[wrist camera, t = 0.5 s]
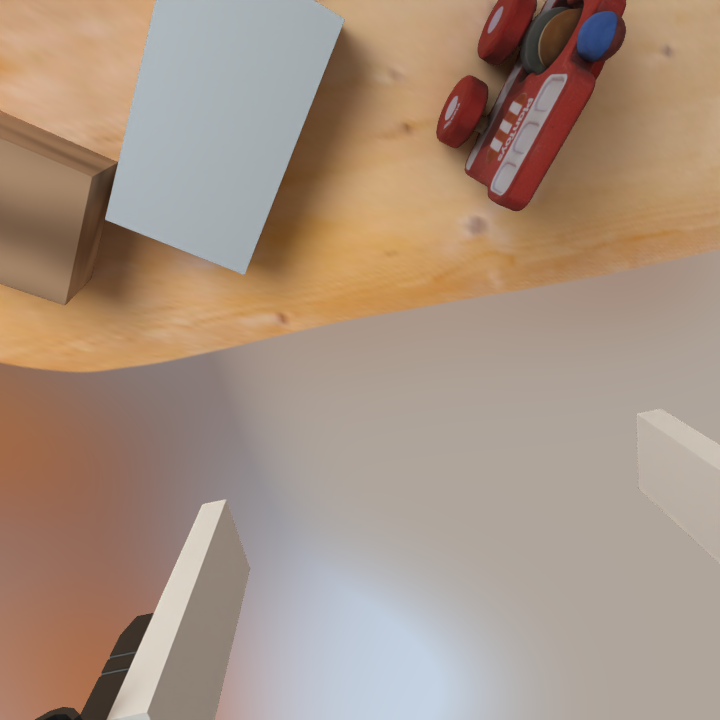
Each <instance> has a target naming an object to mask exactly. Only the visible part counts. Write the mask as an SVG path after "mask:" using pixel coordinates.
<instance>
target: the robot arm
mask: <svg viewBox="0 0 720 720" xmlns="http://www.w3.org/2000/svg"><path fill="white" fill-rule="evenodd" d="M637 452H638V488H639V490H641V491H642V492H643V493H644V494H645V495H646V496H647V497H648V498H649V499H650V500H651V501H652V502H653V503H655V504H656V505H657V506H658V507H659V508H660V509H661V510H662V511H663V512H664V513H666V515H668V516H669V517H670V518H671V519H672V520H673V521H674V522H675V523H676V524H677V525H678V526H680V527H681V528H682V529H683V530H684V531H685V532H686V533H687V534H688V535H689V536H690V537H691V538H693V540H695V541H696V542H697V543H698V544H699V545H700V546H701V547H702V548H703V549H704V550H705V551H706V552H708V553H709V554H710V555H711V556H712V557H713V558H714V559H715V560H716V561H717V562H719V564H720V445H719V444H717V443H716V442H714V441H713V440H711V439H709V438H708V437H706V436H704V435H703V434H701V433H700V432H698V431H696V430H695V429H693V428H691V427H690V426H688V425H687V424H685V423H683V422H682V421H680V420H678V419H677V418H675V417H674V416H672V415H670V414H669V413H667V412H665V411H664V410H662V409H657V410H652V411H647V412H643V413H638V414H637ZM249 571H250V567H249V564H248V561H247V558H246V555H245V552H244V550H243V547H242V544H241V541H240V538H239V535H238V532H237V529H236V527H235V523H234V521H233V518H232V515H231V512H230V509H229V506H228V504H227V500H220V501H216V502H212V503H206V504H202V507H201V509H200V511H199V513H198V516H197V518H196V520H195V522H194V525H193V527H192V529H191V532H190V534H189V536H188V538H187V540H186V543H185V545H184V547H183V549H182V552H181V554H180V556H179V558H178V561H177V563H176V565H175V568H174V570H173V572H172V574H171V576H170V579H169V581H168V583H167V585H166V588H165V590H164V592H163V594H162V597H161V599H160V601H159V603H158V605H157V608H156V610H155V612H154V613H151V614H146V615H141V616H137V617H136V618H135V619H134V620H133V621H132V622H131V624H130V625H129V626H128V627H127V628H126V629H125V631H124V632H123V633H122V634H121V635H120V637H119V639H118V641H117V643H116V645H115V647H114V649H113V651H112V653H111V655H110V659H109V660H108V661H107V663H106V665H105V667H104V669H103V671H102V676H101V677H99V679H98V681H97V682H96V684H95V687H94V689H93V690H92V693H91V695H90V697H89V699H88V700H87V702H86V705H85V707H84V708H83V710H82V712H81V714H79V713H78V712H77V711H76V710H75V709H74V708H67V707H62V708H59V709H55V710H52V711H49V712H47V713H46V714H44V715H43V716H40V717H39V718H37V719H35V720H215V716H216V712H217V708H218V703H219V699H220V695H221V691H222V686H223V682H224V678H225V673H226V669H227V665H228V660H229V656H230V652H231V648H232V644H233V639H234V635H235V631H236V626H237V622H238V618H239V614H240V610H241V605H242V601H243V596H244V592H245V588H246V583H247V580H248V575H249Z"/></svg>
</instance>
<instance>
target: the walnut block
mask: <svg viewBox="0 0 720 720" xmlns="http://www.w3.org/2000/svg"><path fill="white" fill-rule="evenodd" d="M117 165H118V162H116V161H114V160H111V159H109V158H107V157H105V156H102V155H100V154H98V153H95V152H93V151H91V150H89V149H86V148H84V147H82V146H79V145H77V144H75V143H73V142H70V141H68V140H66V139H63V138H61V137H59V136H57V135H54V134H52V133H50V132H47V131H45V130H43V129H41V128H38V127H36V126H34V125H32V124H29V123H27V122H25V121H22V120H20V119H18V118H16V117H13V116H11V115H9V114H6V113H4V112H2V111H0V284H2V285H5V286H8V287H11V288H14V289H17V290H20V291H23V292H26V293H29V294H32V295H35V296H38V297H41V298H44V299H47V300H50V301H53V302H56V303H59V304H62V305H66V304H67V303H68V302H69V301H70V300H71V299H72V298H73V297H74V296H75V295H76V294H77V292H78V291H79V290H80V289H81V288H82V287H83V286H84V285H85V284H86V283H87V282H88V281H89V280H90V279H91V277H92V273H93V268H94V264H95V260H96V255H97V251H98V247H99V242H100V238H101V234H102V229H103V225H104V221H105V216H106V212H107V208H108V204H109V199H110V195H111V191H112V186H113V182H114V178H115V173H116V169H117Z"/></svg>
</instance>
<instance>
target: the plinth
mask: <svg viewBox="0 0 720 720" xmlns="http://www.w3.org/2000/svg"><path fill="white" fill-rule="evenodd" d="M344 20H345V19H344V18H342V17H340V16H339V15H337V14H336V13H334V12H332V11H331V10H329V9H328V8H326V7H324V6H323V5H321V4H319V3H318V2H316V1H315V0H156V1H155V5H154V10H153V14H152V18H151V23H150V27H149V31H148V36H147V40H146V44H145V49H144V53H143V57H142V62H141V66H140V70H139V75H138V79H137V83H136V88H135V92H134V96H133V101H132V105H131V109H130V114H129V118H128V122H127V127H126V131H125V135H124V140H123V144H122V148H121V153H120V157H119V161H118V166H117V170H116V174H115V179H114V183H113V187H112V192H111V196H110V200H109V205H108V209H107V213H106V218H105V220H107V221H109V222H112V223H115V224H117V225H120V226H122V227H125V228H127V229H130V230H132V231H135V232H137V233H140V234H142V235H145V236H147V237H150V238H152V239H155V240H157V241H160V242H162V243H165V244H167V245H170V246H172V247H175V248H177V249H180V250H183V251H185V252H188V253H190V254H193V255H195V256H198V257H200V258H203V259H205V260H208V261H210V262H213V263H215V264H218V265H220V266H223V267H225V268H228V269H230V270H233V271H235V272H238V273H240V274H243V275H245V272H246V270H247V267H248V265H249V262H250V260H251V257H252V254H253V252H254V249H255V247H256V244H257V242H258V239H259V237H260V234H261V232H262V229H263V226H264V224H265V221H266V219H267V216H268V214H269V211H270V209H271V206H272V204H273V201H274V198H275V196H276V193H277V191H278V188H279V186H280V183H281V181H282V178H283V176H284V173H285V170H286V168H287V165H288V163H289V160H290V158H291V155H292V153H293V150H294V147H295V145H296V142H297V140H298V137H299V135H300V132H301V130H302V127H303V125H304V122H305V119H306V117H307V114H308V112H309V109H310V107H311V104H312V102H313V99H314V97H315V94H316V91H317V89H318V86H319V84H320V81H321V79H322V76H323V74H324V71H325V68H326V66H327V63H328V61H329V58H330V56H331V53H332V51H333V48H334V46H335V43H336V40H337V38H338V35H339V33H340V30H341V28H342V25H343V23H344Z"/></svg>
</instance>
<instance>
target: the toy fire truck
mask: <svg viewBox="0 0 720 720" xmlns="http://www.w3.org/2000/svg"><path fill="white" fill-rule="evenodd" d="M536 6H537V0H498V2H497V4H496V5H495V7H494V9H493V10H492V12H491V14H490V16H489V18H488V20H487V22H486V24H485V26H484V29H483V31H482V34H481V37H480V40H479V44H478V55H479V57H480V58H481V59H483V60H485V61H487V62H488V63H490V64H492V65H496V66H497V65H500V64H502V63H503V62H504V61H506V60H507V59H508V58H509V57H510V56H511V55H512V54H513V52H514V51H515V50H516V48H517V47H518V46H520V50H519V53H518V56H517V59H516V62H515V64H514V66H513V68H512V70H511V72H510V74H509V76H508V78H507V80H506V82H505V84H504V86H503V88H502V90H501V92H500V94H499V96H498V98H497V100H496V103H495V105H494V107H493V108H492V110H491V112H490V113H489V115H488V116H487V117H486V116H484V115H482V113H483V110H484V108H485V106H486V103H487V99H488V86H487V85H486V84H485V83H484V82H483V81H480V80H479V79H477V78H475V77H473V76H470V75H469V76H466V77H464V78H463V79H461V80H460V81H459V82H458V84H457V85H456V86H455V87H454V89H453V91H452V92H451V94H450V95H449V97H448V99H447V101H446V103H445V106H444V108H443V110H442V112H441V115H440V118H439V121H438V125H437V132H436V134H437V138H438V139H439V141H441V142H443V143H445V144H447V145H449V146H451V147H453V148H457V147H459V146H461V145H462V144H463V143H464V142H465V141H466V140H468V139H469V137H470V136H471V134H472V133H473V132H474V130H475V131H477V132H478V136H477V139H476V142H475V144H474V146H473V149H472V151H471V152H470V154H469V157H468V159H467V162H466V165H465V172H466V174H467V175H469V176H470V177H472V178H474V179H475V180H477V181H479V182H480V183H482V184H484V185H486V186H487V187H488V197H489V198H490V199H491V200H492V201H494V202H495V203H497V204H499V205H501V206H503V207H506V208H508V209H511V210H513V211H520V210H522V209H523V208H525V207H526V206H527V204H528V203H529V202H530V200H531V198H532V197H533V195H534V193H535V191H536V190H537V188H538V186H539V184H540V183H541V181H542V179H543V177H544V176H545V174H546V172H547V171H548V169H549V167H550V165H551V164H552V162H553V160H554V159H555V157H556V155H557V153H558V152H559V150H560V148H561V146H562V145H563V143H564V141H565V139H566V138H567V136H568V134H569V133H570V131H571V129H572V127H573V125H574V124H575V122H576V121H577V119H578V117H579V115H580V114H581V112H582V110H583V108H584V107H585V105H586V103H587V102H588V100H589V98H590V96H591V94H592V92H593V90H594V86H595V80H596V79H597V77H598V76H599V74H600V72H601V70H602V68H603V65H604V63H605V61H606V60H607V59H608V58H610V57H611V56H613V55H614V54H615V53H616V52H617V51H618V50H619V48H620V47H621V45H622V43H623V41H624V38H625V33H626V27H625V23H624V21H623V19H622V15H623V13H624V10H625V7H626V0H546V2H545V4H544V6H543V8H542V10H541V12H540V14H539V15H538V16H536V17H535V19H534V20H533V21H532V17H533V15H534V13H535V11H536Z"/></svg>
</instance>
